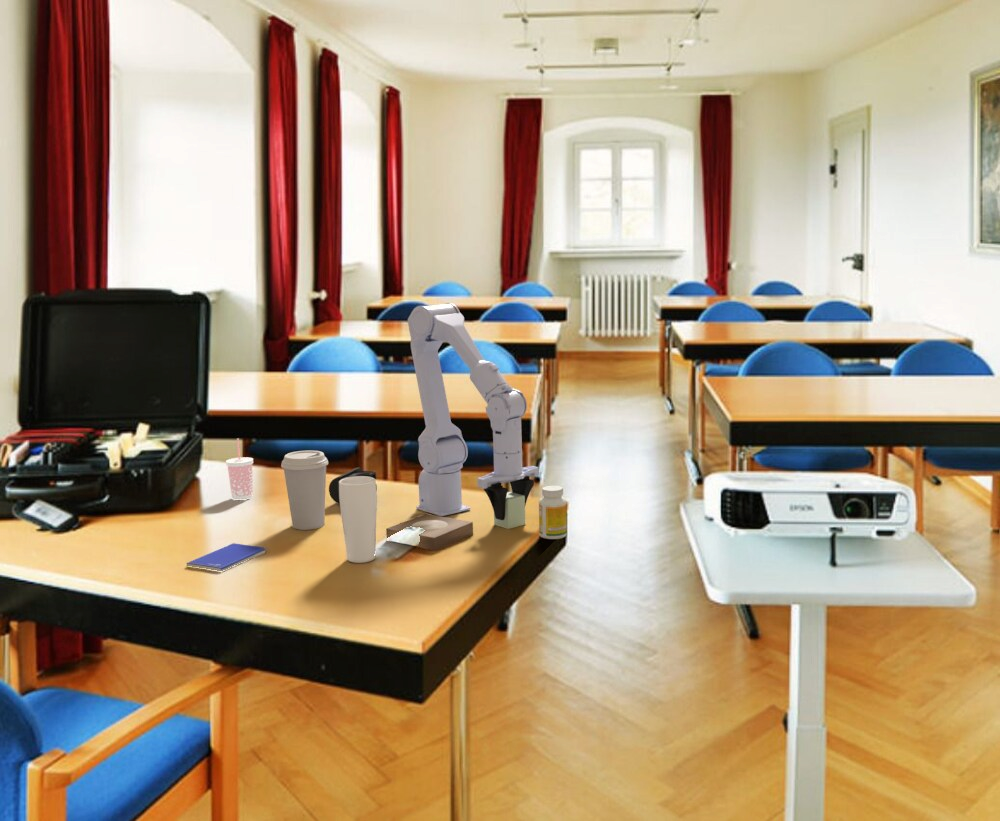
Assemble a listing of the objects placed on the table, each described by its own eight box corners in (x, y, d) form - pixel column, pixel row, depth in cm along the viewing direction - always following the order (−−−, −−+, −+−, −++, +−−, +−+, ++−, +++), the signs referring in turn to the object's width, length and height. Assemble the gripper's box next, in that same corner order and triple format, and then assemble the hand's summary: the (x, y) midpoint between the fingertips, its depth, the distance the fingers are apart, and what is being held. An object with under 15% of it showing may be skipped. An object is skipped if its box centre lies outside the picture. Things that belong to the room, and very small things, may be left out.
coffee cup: (300, 535, 204) (295, 462, 201) (276, 525, 211) (271, 455, 208) (340, 525, 210) (336, 454, 207) (316, 516, 217) (312, 447, 215)
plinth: (386, 541, 198) (386, 528, 198) (426, 525, 208) (425, 513, 207) (434, 550, 191) (434, 537, 191) (473, 534, 201) (472, 521, 200)
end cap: (350, 495, 235) (348, 466, 233) (378, 496, 232) (376, 468, 231) (329, 506, 225) (327, 476, 224) (357, 508, 223) (356, 478, 222)
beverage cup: (244, 502, 230) (239, 442, 228) (223, 500, 233) (218, 440, 230) (261, 496, 236) (257, 436, 233) (240, 493, 238) (236, 435, 236)
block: (494, 524, 207) (493, 495, 206) (511, 519, 210) (510, 491, 209) (508, 528, 204) (507, 499, 203) (525, 524, 207) (524, 495, 206)
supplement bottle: (533, 536, 198) (532, 488, 197) (551, 530, 202) (550, 483, 201) (555, 541, 195) (554, 492, 193) (572, 535, 199) (571, 487, 197)
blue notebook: (221, 567, 182) (265, 547, 193) (186, 562, 186) (231, 542, 197) (221, 575, 183) (266, 555, 193) (186, 570, 186) (232, 550, 197)
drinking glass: (338, 557, 189) (334, 478, 187) (374, 551, 192) (369, 474, 189) (348, 567, 183) (343, 486, 180) (384, 561, 186) (380, 481, 183)
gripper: (492, 460, 197) (494, 527, 199) (547, 448, 206) (549, 513, 208) (469, 454, 202) (472, 520, 205) (525, 443, 211) (526, 506, 214)
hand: (509, 516), depth 207 cm, fingers closed on block, 4 cm apart
